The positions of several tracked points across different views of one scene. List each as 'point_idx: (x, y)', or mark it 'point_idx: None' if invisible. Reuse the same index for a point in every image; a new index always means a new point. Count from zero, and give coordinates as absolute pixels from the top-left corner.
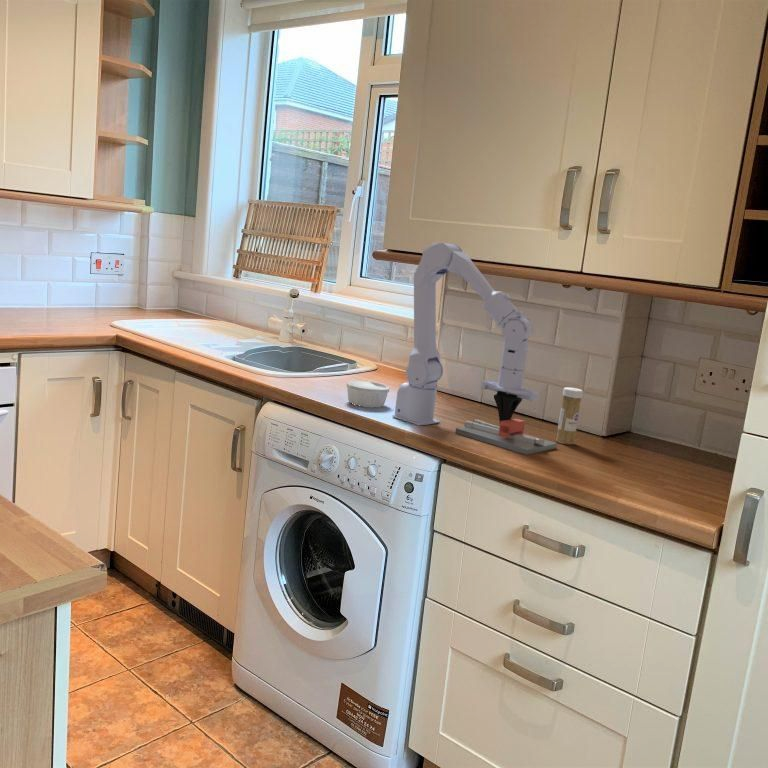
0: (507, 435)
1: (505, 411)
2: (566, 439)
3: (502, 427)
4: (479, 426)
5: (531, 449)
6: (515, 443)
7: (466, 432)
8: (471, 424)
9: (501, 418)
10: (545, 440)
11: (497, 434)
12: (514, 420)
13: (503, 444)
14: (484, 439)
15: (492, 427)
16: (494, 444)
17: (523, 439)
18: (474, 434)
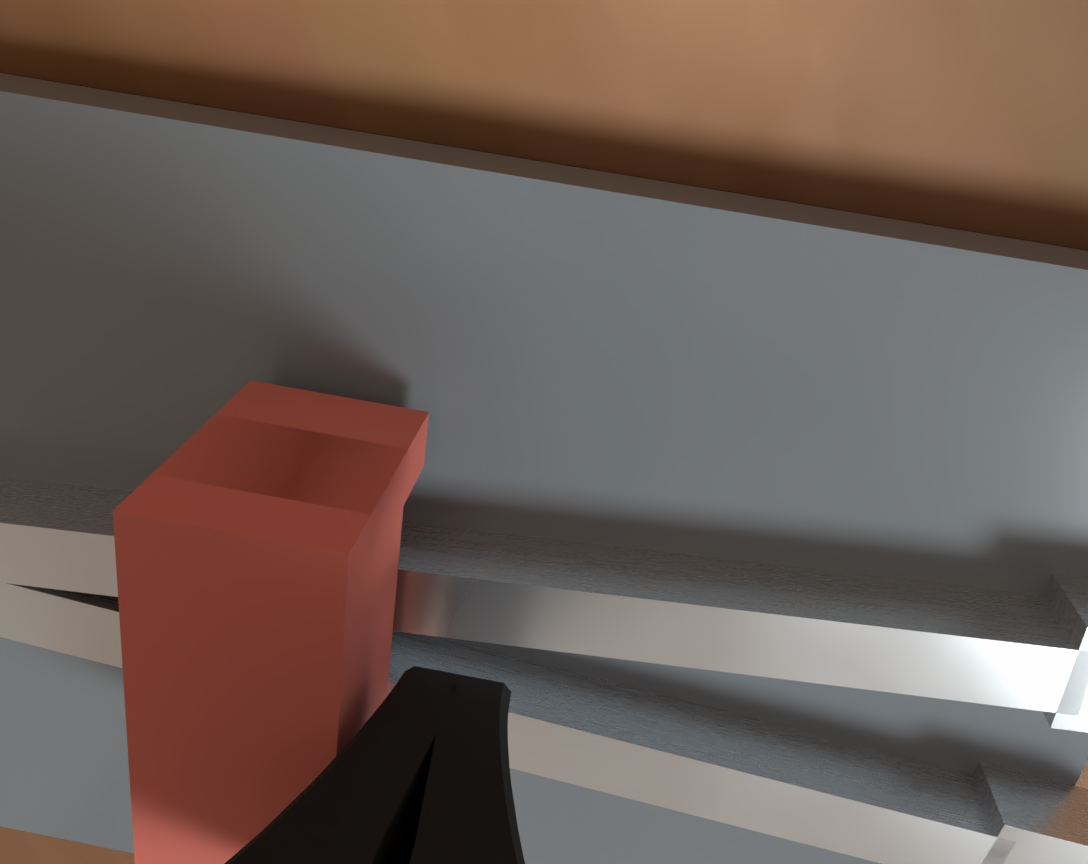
0: (231, 401)
1: (280, 856)
2: None
3: (319, 480)
4: (908, 615)
5: None
6: (46, 271)
7: (1030, 254)
8: (1082, 613)
9: (439, 743)
10: (1, 808)
11: (525, 539)
12: (242, 844)
13: (180, 112)
14: (597, 180)
15: (667, 661)
16: (380, 138)
17: (42, 502)
18: (837, 225)
